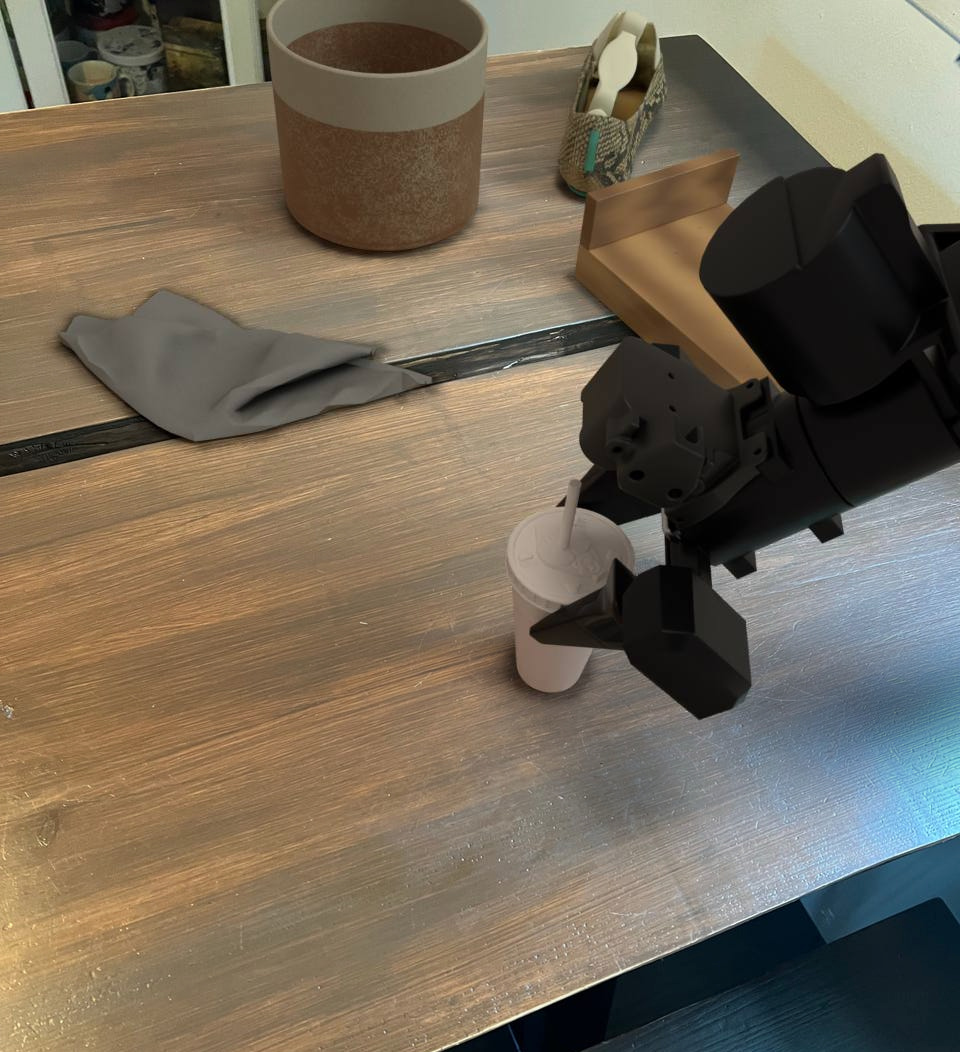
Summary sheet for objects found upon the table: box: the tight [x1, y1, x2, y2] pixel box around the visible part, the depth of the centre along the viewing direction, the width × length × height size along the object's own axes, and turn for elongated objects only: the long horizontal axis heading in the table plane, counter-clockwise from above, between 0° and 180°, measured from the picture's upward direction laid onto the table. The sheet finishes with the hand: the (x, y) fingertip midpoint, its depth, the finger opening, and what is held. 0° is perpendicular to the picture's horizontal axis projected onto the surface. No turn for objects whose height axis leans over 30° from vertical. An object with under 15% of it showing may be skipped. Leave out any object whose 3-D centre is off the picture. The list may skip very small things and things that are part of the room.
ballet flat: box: [557, 9, 668, 198], centre depth 87 cm, size 8×25×9 cm, turn 166°
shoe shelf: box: [573, 147, 785, 392], centre depth 73 cm, size 14×20×7 cm
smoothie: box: [503, 478, 636, 693], centre depth 50 cm, size 6×6×14 cm
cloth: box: [56, 289, 433, 442], centre depth 68 cm, size 26×14×2 cm, turn 71°
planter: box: [265, 0, 489, 252], centre depth 77 cm, size 16×16×14 cm
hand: (537, 584), depth 50 cm, fingers closed on smoothie, 6 cm apart
